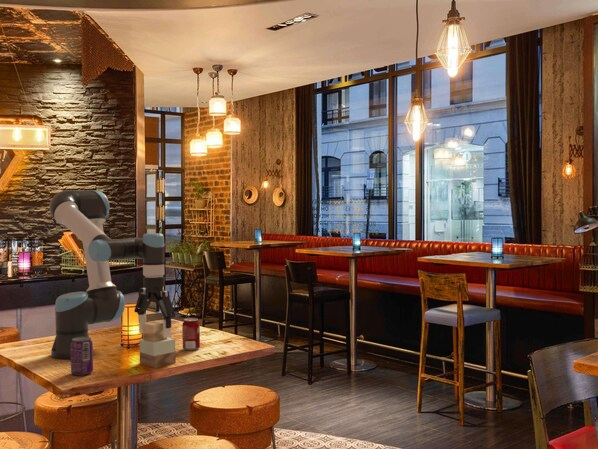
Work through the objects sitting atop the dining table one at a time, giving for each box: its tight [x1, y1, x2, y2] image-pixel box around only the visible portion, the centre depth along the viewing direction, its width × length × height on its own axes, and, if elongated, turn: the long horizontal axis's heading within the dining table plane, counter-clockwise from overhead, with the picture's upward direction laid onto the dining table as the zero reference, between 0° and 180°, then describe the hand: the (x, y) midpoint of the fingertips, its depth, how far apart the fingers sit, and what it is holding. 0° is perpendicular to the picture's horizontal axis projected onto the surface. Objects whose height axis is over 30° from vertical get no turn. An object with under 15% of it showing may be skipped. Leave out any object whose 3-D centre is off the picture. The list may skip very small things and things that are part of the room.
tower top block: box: [139, 337, 176, 356], centre depth 225 cm, size 9×9×4 cm
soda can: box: [181, 317, 201, 352], centre depth 247 cm, size 7×7×12 cm
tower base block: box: [139, 350, 177, 369], centre depth 225 cm, size 9×9×4 cm
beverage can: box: [70, 336, 94, 376], centre depth 212 cm, size 7×7×12 cm
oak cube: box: [142, 320, 167, 342], centre depth 225 cm, size 6×6×6 cm
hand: (154, 334), depth 225 cm, fingers open, 13 cm apart
